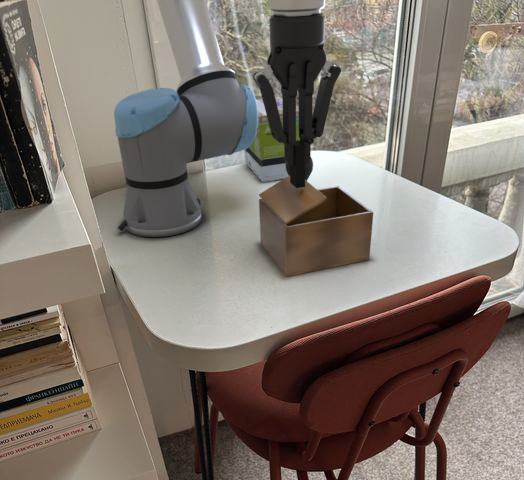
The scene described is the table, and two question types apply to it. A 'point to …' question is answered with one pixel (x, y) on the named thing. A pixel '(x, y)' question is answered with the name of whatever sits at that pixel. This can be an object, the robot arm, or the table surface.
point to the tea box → (268, 147)
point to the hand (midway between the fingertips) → (297, 184)
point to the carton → (318, 234)
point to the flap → (291, 199)
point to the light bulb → (307, 169)
